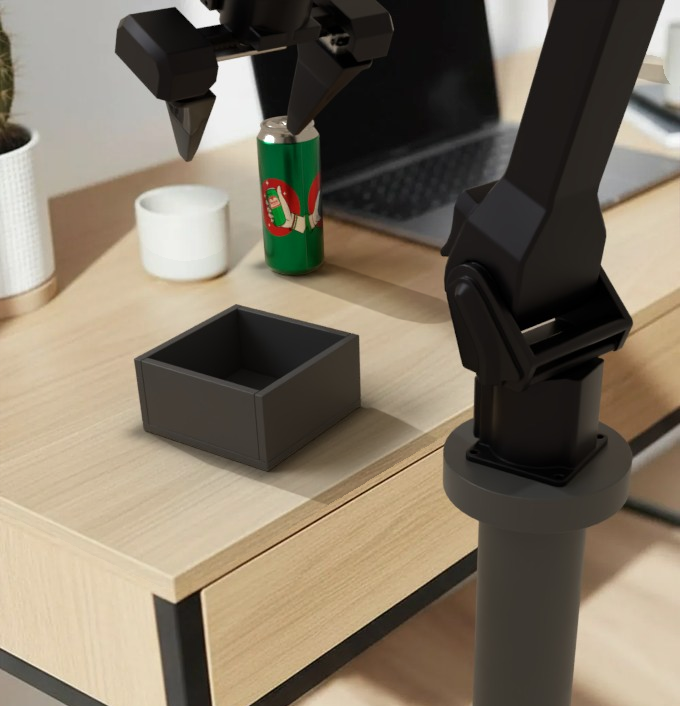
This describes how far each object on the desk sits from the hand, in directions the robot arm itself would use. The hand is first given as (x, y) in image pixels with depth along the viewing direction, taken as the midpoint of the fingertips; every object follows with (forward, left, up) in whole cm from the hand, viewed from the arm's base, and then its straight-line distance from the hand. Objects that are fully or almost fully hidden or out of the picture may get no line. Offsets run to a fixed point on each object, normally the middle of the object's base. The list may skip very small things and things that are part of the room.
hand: (240, 144), depth 85 cm
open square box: (-10, +12, -13) cm, 21 cm away
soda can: (+4, -11, -14) cm, 18 cm away
